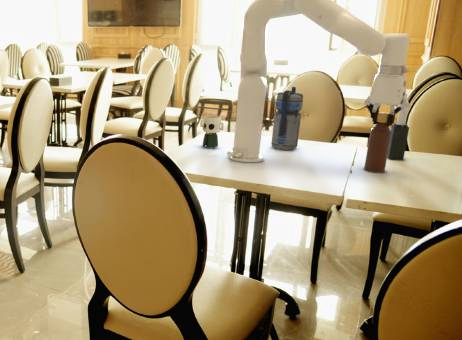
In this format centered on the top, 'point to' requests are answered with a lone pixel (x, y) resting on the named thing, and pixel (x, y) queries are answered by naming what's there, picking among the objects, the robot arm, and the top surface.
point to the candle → (399, 136)
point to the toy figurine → (211, 130)
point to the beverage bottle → (287, 120)
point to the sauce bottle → (378, 148)
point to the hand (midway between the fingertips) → (382, 124)
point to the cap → (382, 117)
